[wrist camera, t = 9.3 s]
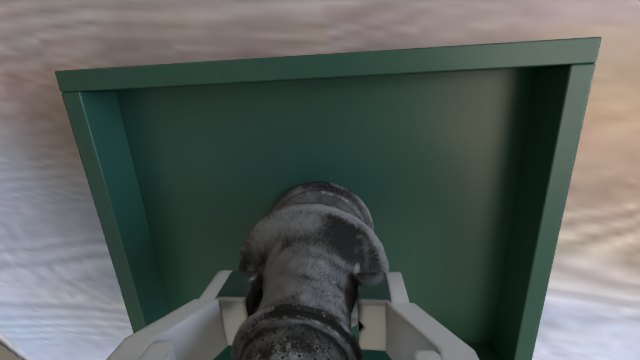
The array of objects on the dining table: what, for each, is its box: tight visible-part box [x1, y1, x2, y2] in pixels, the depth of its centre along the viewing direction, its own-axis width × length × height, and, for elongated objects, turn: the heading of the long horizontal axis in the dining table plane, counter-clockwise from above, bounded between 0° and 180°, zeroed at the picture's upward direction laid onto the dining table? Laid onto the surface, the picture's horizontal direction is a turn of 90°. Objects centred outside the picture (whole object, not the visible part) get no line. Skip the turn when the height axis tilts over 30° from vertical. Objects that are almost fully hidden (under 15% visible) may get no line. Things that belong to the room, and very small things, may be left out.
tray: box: [55, 37, 601, 360], centre depth 14 cm, size 16×20×3 cm
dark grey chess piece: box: [231, 181, 389, 360], centre depth 9 cm, size 6×6×12 cm
